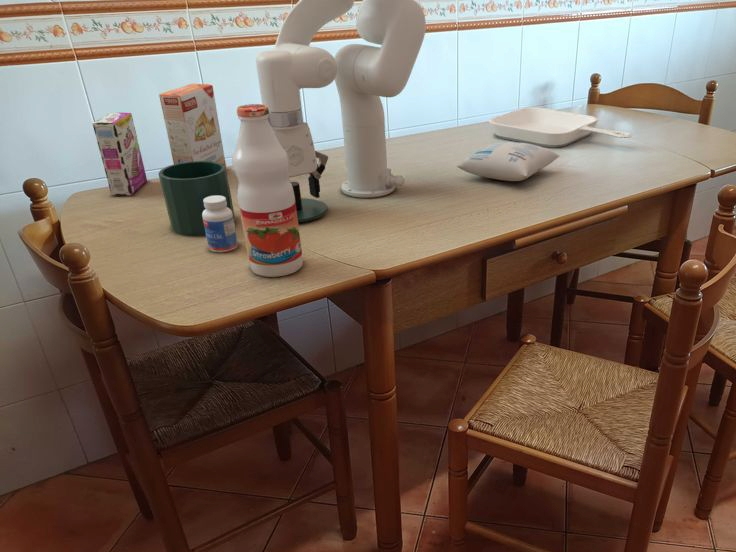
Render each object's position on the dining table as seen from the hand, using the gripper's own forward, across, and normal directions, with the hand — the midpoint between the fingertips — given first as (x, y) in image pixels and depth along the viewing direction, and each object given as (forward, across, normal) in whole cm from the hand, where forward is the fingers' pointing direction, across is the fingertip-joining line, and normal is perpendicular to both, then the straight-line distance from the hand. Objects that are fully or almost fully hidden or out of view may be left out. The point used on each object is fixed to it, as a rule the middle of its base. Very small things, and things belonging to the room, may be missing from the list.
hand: (295, 200), depth 142 cm
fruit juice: (+3, -15, -23) cm, 28 cm away
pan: (+4, +92, +9) cm, 93 cm away
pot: (+3, -18, +6) cm, 19 cm away
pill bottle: (+3, -20, -8) cm, 21 cm away
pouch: (+3, +54, -8) cm, 55 cm away
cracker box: (+3, -7, +37) cm, 38 cm away
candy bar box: (+3, -24, +39) cm, 46 cm away
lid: (+2, 0, 0) cm, 2 cm away
